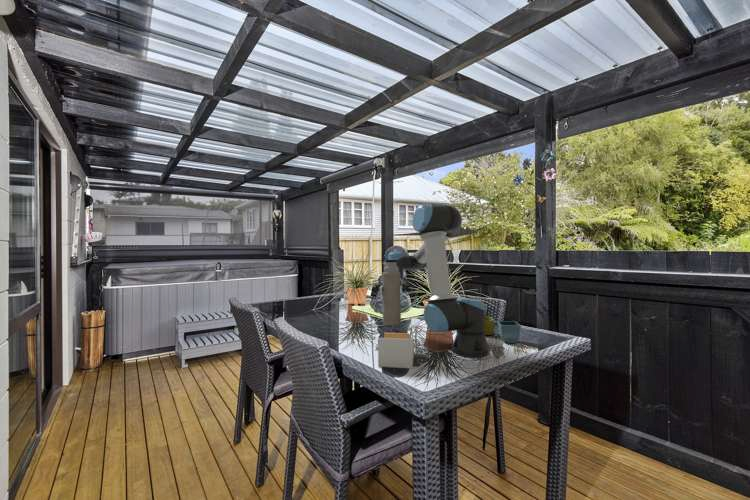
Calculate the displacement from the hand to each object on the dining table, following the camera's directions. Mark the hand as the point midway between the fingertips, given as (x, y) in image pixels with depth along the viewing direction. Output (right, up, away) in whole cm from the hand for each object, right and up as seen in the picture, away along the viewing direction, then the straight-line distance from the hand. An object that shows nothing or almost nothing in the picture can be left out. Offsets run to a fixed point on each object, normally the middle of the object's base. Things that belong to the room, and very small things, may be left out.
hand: (390, 290), depth 152 cm
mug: (+48, -26, +30) cm, 62 cm away
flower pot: (+57, -26, +16) cm, 64 cm away
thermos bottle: (+1, -15, +5) cm, 16 cm away
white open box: (+2, -27, -9) cm, 29 cm away
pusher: (+2, -26, -12) cm, 29 cm away
